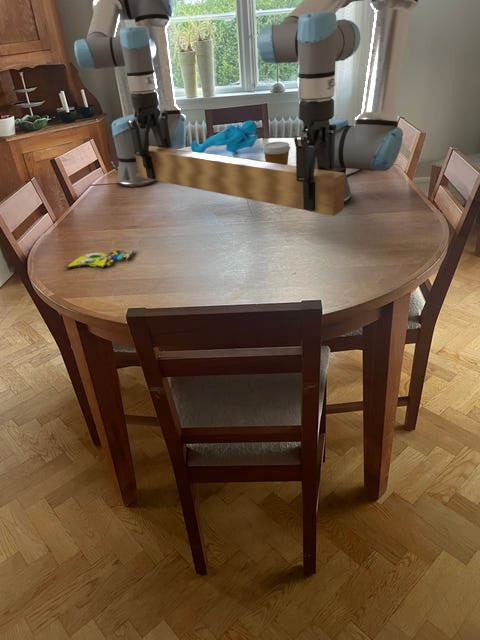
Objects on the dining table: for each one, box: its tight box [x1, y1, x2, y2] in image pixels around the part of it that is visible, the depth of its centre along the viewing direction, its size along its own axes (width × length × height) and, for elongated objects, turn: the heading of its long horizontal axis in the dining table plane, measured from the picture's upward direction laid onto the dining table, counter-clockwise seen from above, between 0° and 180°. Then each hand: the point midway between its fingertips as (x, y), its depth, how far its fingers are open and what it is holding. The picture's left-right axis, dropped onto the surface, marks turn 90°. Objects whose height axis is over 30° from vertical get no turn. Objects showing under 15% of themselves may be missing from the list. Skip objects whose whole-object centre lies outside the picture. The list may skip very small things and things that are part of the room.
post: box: [135, 146, 345, 217], centre depth 127 cm, size 68×5×8 cm, turn 50°
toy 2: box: [189, 120, 258, 154], centre depth 209 cm, size 17×11×30 cm
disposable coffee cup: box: [262, 141, 291, 165], centre depth 169 cm, size 10×10×12 cm
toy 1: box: [66, 249, 134, 270], centre depth 125 cm, size 10×1×15 cm
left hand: (157, 175), depth 145 cm, fingers closed on post, 5 cm apart
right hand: (315, 205), depth 113 cm, fingers closed on post, 5 cm apart
